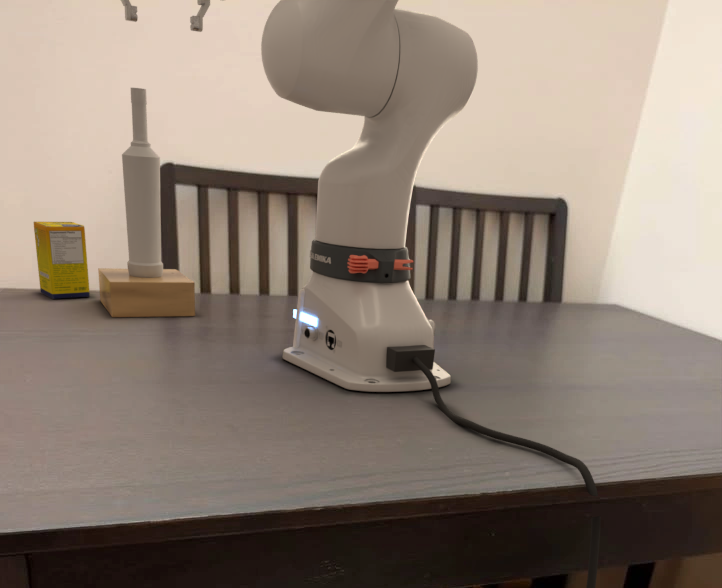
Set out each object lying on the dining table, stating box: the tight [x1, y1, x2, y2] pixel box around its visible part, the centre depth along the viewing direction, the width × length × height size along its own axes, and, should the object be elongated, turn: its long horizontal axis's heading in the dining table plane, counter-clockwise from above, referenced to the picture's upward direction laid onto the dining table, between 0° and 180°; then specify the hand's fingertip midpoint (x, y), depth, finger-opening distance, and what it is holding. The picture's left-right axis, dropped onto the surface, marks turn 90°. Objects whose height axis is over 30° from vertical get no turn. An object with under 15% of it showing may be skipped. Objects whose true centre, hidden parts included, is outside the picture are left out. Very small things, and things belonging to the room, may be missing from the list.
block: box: [97, 267, 196, 318], centre depth 111 cm, size 12×12×5 cm
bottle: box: [121, 87, 164, 278], centre depth 105 cm, size 5×5×25 cm
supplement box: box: [33, 221, 91, 300], centre depth 114 cm, size 6×6×11 cm
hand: (164, 26), depth 107 cm, fingers open, 8 cm apart
